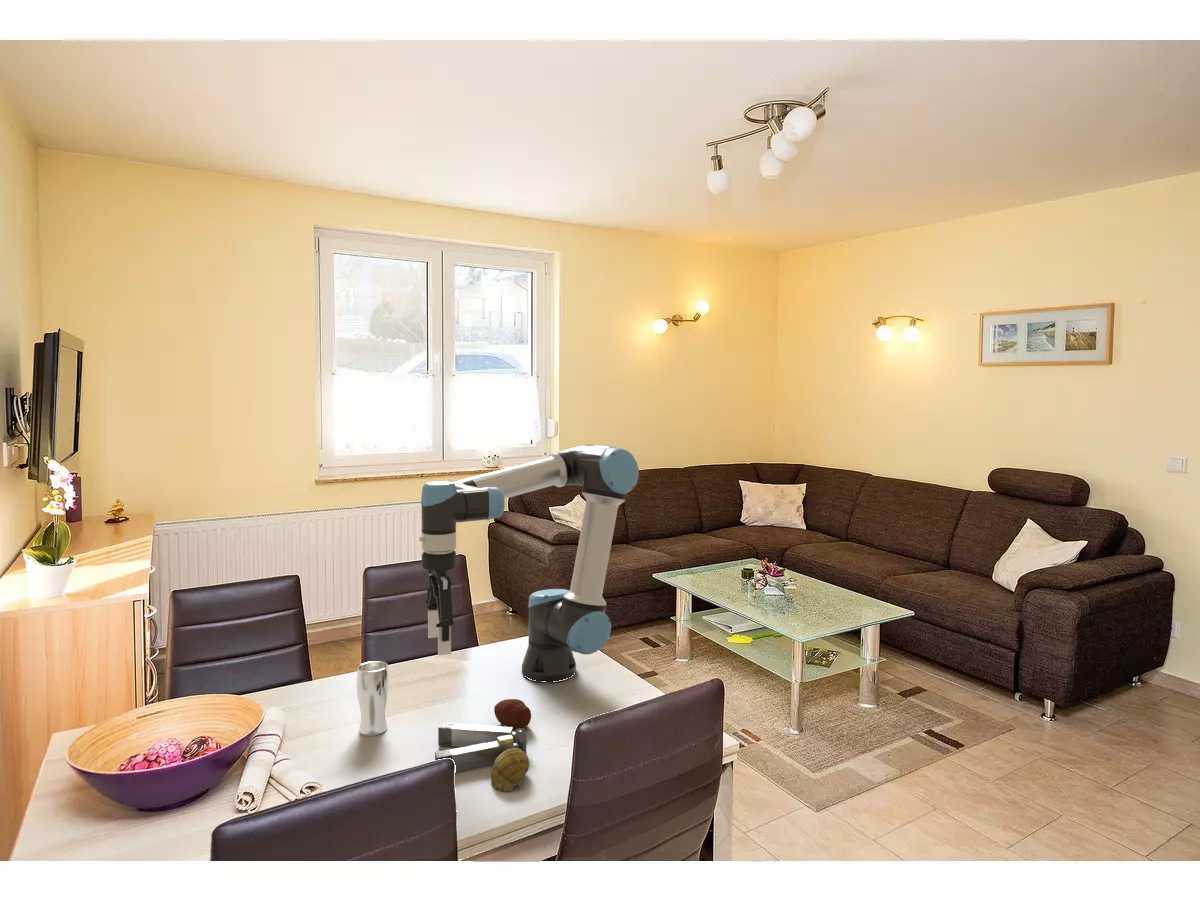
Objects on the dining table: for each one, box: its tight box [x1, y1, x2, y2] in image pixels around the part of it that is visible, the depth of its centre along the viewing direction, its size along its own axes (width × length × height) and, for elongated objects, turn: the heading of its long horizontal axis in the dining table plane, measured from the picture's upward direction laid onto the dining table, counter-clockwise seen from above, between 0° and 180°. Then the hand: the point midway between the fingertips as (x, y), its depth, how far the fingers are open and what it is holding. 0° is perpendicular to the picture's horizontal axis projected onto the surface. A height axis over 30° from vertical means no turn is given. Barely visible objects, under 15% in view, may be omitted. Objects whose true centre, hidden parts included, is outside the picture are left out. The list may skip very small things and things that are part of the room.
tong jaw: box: [437, 722, 515, 748], centre depth 157 cm, size 17×2×4 cm, turn 84°
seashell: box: [490, 748, 530, 793], centre depth 144 cm, size 10×7×8 cm
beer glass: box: [356, 660, 390, 737], centre depth 163 cm, size 7×7×15 cm
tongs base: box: [434, 728, 528, 774], centre depth 150 cm, size 20×4×5 cm, turn 114°
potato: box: [493, 698, 532, 731], centre depth 167 cm, size 7×9×6 cm
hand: (439, 645), depth 163 cm, fingers open, 11 cm apart
